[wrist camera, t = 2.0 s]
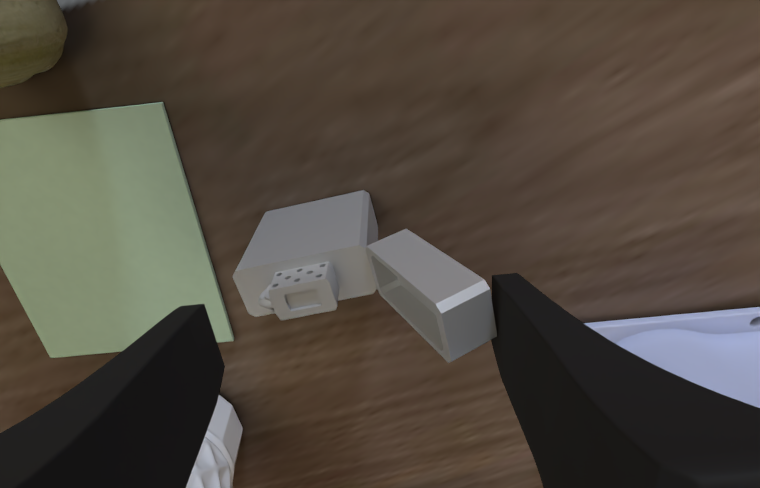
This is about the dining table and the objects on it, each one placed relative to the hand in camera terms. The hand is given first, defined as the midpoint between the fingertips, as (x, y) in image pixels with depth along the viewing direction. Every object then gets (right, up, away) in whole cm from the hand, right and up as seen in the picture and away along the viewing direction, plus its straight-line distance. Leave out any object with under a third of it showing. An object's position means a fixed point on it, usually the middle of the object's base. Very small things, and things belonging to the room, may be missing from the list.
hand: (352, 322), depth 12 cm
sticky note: (-10, +2, +6) cm, 12 cm away
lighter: (0, +3, +6) cm, 7 cm away
